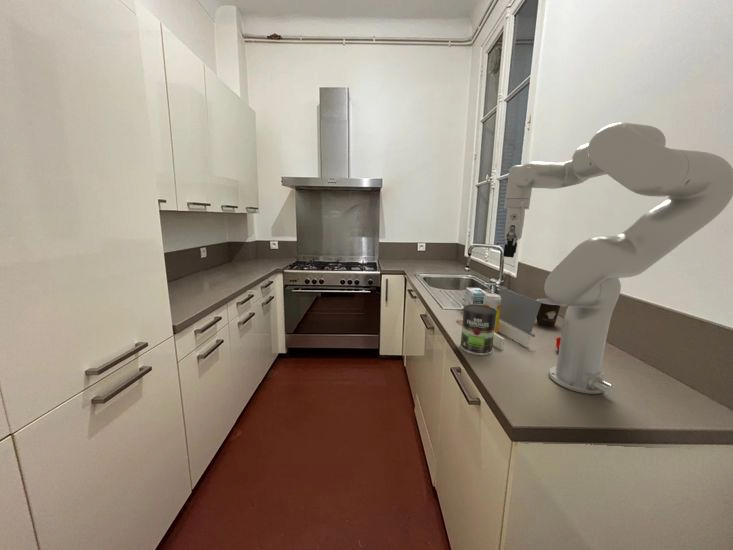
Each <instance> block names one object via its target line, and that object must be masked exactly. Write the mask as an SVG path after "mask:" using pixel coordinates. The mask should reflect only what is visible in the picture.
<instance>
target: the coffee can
mask: <svg viewBox="0 0 733 550" xmlns="http://www.w3.org/2000/svg"><path fill="white" fill-rule="evenodd" d="M496 313H497V311H496V310H495V309H494V308H491V307H488V306H484V305H474V304H472V305H466V306H465V305H464V306H463V314H462V315H463V316H462V318H463V324H462V325H461V337H460V345H459V346H460V349H461V350H463V352H466V353H468V354H470V355H475V356H476V355H477V356H488V355H491V354H492V353H493V346H494V345H493V337H494V328H495V319H496Z"/></svg>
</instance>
